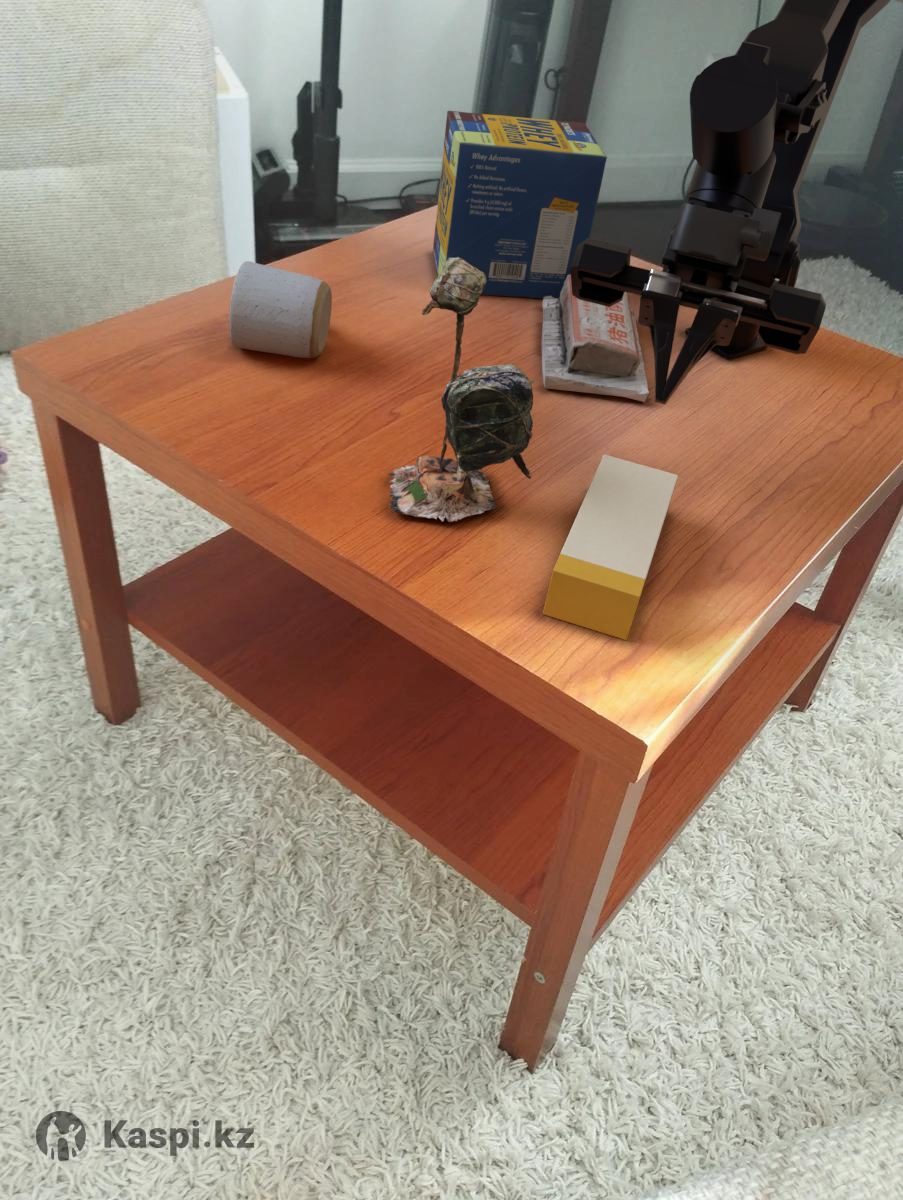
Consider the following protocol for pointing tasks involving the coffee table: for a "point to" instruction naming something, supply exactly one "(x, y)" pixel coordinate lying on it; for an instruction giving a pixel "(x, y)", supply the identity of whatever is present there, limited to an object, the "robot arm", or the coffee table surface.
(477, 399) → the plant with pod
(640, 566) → the block
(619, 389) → the packaged product
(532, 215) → the protein box
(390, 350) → the coffee table surface
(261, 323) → the grey cylinder
